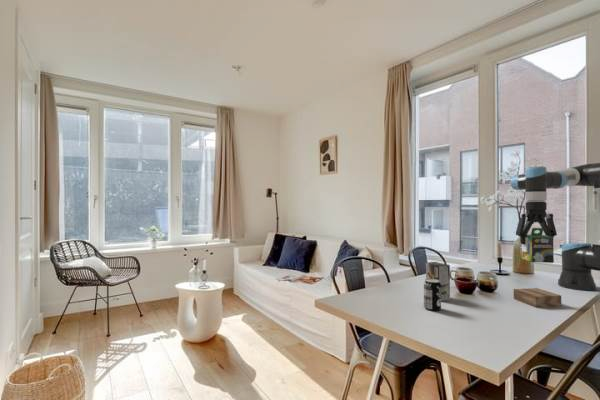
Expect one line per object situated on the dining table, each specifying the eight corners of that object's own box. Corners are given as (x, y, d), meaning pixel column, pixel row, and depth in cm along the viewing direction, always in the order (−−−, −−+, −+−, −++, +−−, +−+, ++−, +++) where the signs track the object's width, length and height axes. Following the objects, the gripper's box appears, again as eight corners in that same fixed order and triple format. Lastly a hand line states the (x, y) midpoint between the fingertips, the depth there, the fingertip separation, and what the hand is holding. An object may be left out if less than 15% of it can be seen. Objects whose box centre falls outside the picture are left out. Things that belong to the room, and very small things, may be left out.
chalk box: (540, 259, 144) (540, 227, 145) (554, 263, 135) (554, 228, 135) (519, 258, 145) (519, 226, 145) (531, 262, 136) (531, 228, 136)
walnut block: (537, 298, 147) (537, 288, 147) (561, 307, 135) (561, 295, 135) (513, 299, 145) (513, 289, 146) (536, 308, 134) (535, 296, 134)
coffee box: (450, 300, 144) (450, 265, 144) (439, 301, 142) (439, 265, 142) (436, 294, 152) (436, 261, 152) (425, 295, 150) (425, 262, 150)
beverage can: (440, 307, 134) (440, 279, 134) (441, 312, 128) (441, 282, 128) (423, 305, 136) (423, 277, 136) (424, 310, 130) (424, 281, 130)
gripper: (553, 201, 144) (553, 250, 144) (505, 201, 144) (506, 250, 144) (567, 201, 137) (568, 252, 137) (517, 201, 137) (517, 252, 137)
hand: (536, 251), depth 140 cm, fingers closed on chalk box, 9 cm apart
